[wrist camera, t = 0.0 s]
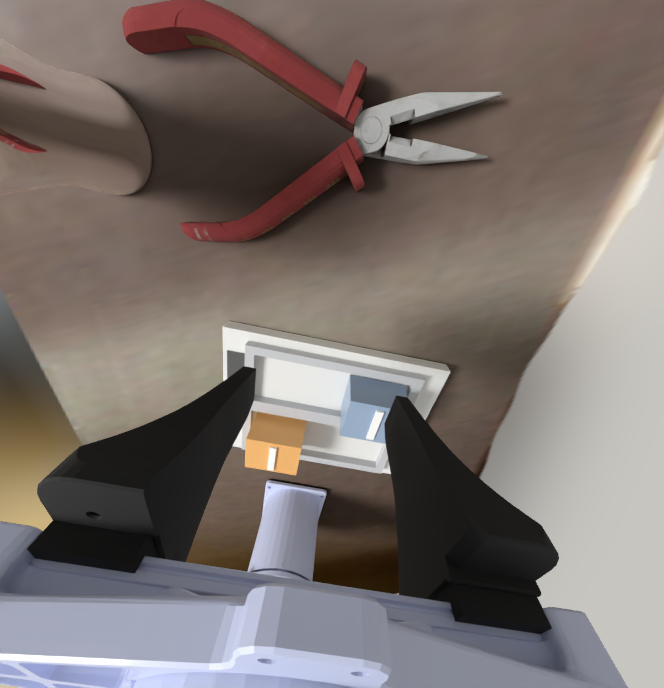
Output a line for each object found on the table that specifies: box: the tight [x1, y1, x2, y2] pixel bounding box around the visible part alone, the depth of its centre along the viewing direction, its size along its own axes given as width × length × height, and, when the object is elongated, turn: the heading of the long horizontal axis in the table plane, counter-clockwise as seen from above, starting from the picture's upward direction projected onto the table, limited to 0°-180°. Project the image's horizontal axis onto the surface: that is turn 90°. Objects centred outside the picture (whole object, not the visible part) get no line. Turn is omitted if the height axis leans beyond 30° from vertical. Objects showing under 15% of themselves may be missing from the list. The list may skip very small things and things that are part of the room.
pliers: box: [122, 0, 502, 242], centre depth 15 cm, size 11×20×3 cm, turn 92°
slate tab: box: [340, 375, 407, 444], centre depth 22 cm, size 4×5×4 cm
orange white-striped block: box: [245, 412, 307, 475], centre depth 25 cm, size 4×5×4 cm
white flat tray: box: [223, 321, 450, 474], centre depth 26 cm, size 15×20×2 cm
